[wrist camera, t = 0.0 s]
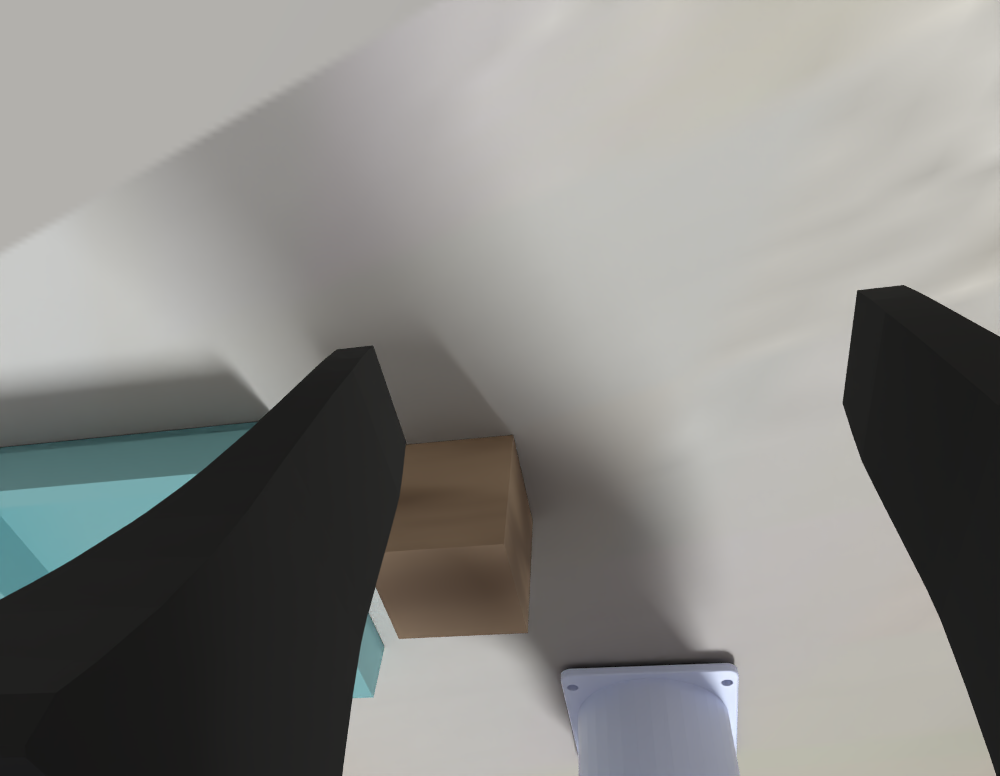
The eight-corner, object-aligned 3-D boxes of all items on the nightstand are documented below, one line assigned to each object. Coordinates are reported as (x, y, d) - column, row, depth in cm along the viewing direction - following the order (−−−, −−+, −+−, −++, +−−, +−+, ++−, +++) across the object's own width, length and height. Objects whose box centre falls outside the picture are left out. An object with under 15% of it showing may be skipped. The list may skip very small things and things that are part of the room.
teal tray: (384, 647, 34) (373, 697, 32) (117, 658, 36) (92, 706, 34) (276, 420, 26) (253, 468, 24) (-59, 453, 28) (-107, 500, 26)
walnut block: (532, 520, 28) (527, 632, 24) (421, 528, 29) (398, 639, 25) (513, 433, 26) (504, 543, 22) (391, 445, 26) (360, 553, 22)
